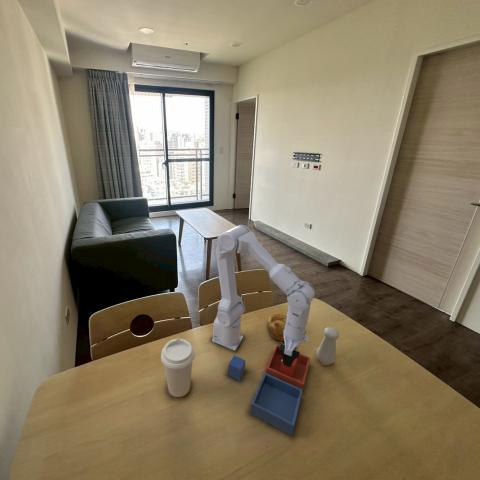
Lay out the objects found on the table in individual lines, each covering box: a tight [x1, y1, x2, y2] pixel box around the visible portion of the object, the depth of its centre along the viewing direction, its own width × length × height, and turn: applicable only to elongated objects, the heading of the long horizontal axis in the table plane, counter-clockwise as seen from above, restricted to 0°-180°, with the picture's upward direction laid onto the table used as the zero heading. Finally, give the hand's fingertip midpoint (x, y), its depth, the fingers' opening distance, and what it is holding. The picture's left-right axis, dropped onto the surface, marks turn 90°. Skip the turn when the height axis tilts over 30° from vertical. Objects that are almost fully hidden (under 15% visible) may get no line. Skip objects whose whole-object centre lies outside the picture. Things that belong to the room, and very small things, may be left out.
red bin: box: [265, 344, 311, 393], centre depth 80 cm, size 11×11×4 cm
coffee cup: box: [160, 338, 196, 398], centre depth 73 cm, size 10×10×15 cm
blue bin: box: [249, 372, 304, 437], centre depth 70 cm, size 11×11×4 cm
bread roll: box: [267, 312, 287, 342], centre depth 96 cm, size 13×10×8 cm
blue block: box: [227, 354, 246, 382], centre depth 79 cm, size 4×4×5 cm
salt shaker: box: [316, 326, 340, 367], centre depth 83 cm, size 6×6×13 cm
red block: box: [280, 358, 297, 378], centre depth 80 cm, size 4×4×5 cm
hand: (289, 356), depth 79 cm, fingers open, 7 cm apart
